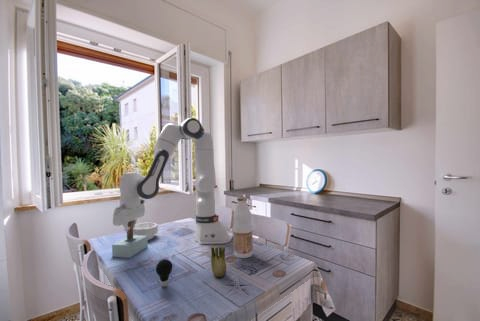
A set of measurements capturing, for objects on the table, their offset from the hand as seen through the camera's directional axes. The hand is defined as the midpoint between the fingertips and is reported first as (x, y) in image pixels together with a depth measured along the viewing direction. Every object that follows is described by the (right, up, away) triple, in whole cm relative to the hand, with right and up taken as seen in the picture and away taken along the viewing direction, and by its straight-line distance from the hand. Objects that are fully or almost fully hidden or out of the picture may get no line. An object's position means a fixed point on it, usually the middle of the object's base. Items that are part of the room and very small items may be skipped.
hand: (130, 229), depth 117 cm
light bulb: (+29, -11, -33) cm, 46 cm away
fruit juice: (+59, -11, -7) cm, 60 cm away
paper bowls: (-1, -12, +20) cm, 23 cm away
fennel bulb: (+49, -11, -26) cm, 57 cm away
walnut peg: (0, -5, 0) cm, 5 cm away
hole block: (0, -12, 0) cm, 12 cm away
